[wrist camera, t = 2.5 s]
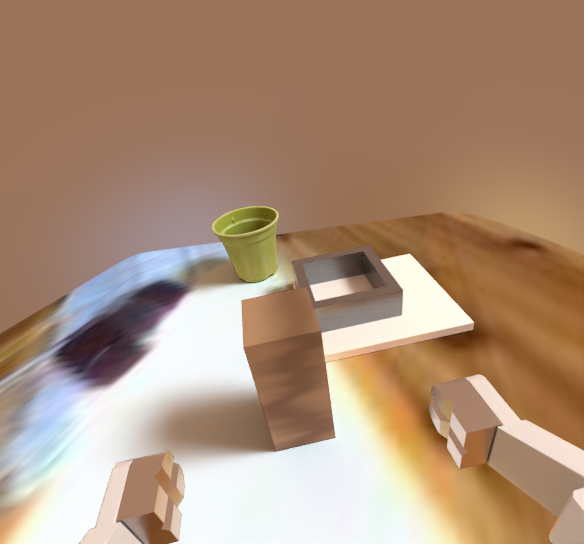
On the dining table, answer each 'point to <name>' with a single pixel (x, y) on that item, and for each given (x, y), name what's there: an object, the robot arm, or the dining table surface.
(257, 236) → the plant pot
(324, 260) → the steel collar
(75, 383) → the dining table surface
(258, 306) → the walnut post
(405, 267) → the base plate
